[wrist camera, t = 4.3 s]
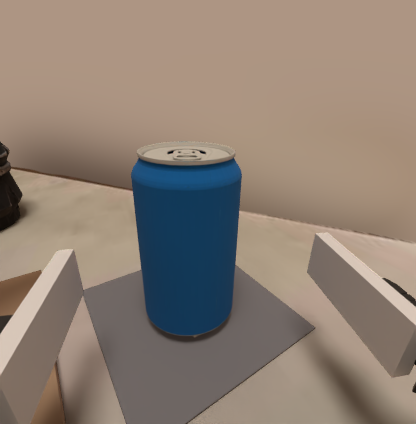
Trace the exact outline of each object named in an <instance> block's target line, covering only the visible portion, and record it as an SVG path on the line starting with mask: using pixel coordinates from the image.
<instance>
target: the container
mask: <svg viewBox="0 0 416 424" xmlns="http://www.w3.org/2000/svg"><path fill="white" fill-rule="evenodd" d="M8 154H9V149H8V148H7V147H5V146H4V145H3V144H2V143H1V142H0V230H2V229H4V228H6V227H8V226H10V225H12V224H14V223H15V222H16V221H17V220H18V219H19V217H20V212H19V206H18V203H19V201H20V199H21V197H22V192H21V191H20V189H19V187H18V186H17V184H16V182H15V181H14V179H13V177H12V175H11V174H10V172H9V171H10V170H11V166H10V163H9V162H8V161H7V157H8Z"/></svg>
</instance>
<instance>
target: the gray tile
mask: <svg viewBox="0 0 416 424" xmlns="http://www.w3.org/2000/svg"><path fill="white" fill-rule="evenodd" d="M83 291H84V293H83V296H84V299H85V302H86V305H87V308H88V311H89V314H90V317H91V320H92V323H93V326H94V329H95V332H96V335H97V338H98V341H99V344H100V347H101V350H102V353H103V356H104V358H105V361H106V364H107V367H108V370H109V373H110V376H111V379H112V382H113V385H114V388H115V391H116V394H117V397H118V400H119V403H120V406H121V409H122V412H123V415H124V418H125V421H126V424H187V423H188V422H189V421H191V420H192V419H193V418H195V417H196V416H197V415H199V414H200V413H202V412H203V411H204V410H206V409H207V408H208V407H210V406H211V405H212V404H214V403H215V402H216V401H218V400H219V399H220V398H222V397H223V396H225V395H226V394H227V393H229V392H230V391H231V390H233V389H234V388H235V387H237V386H238V385H239V384H241V383H242V382H243V381H245V380H246V379H247V378H249V377H250V376H252V375H253V374H254V373H256V372H257V371H258V370H260V369H261V368H262V367H264V366H265V365H266V364H268V363H269V362H270V361H272V360H273V359H275V358H276V357H277V356H279V355H280V354H281V353H283V352H284V351H285V350H287V349H288V348H289V347H291V346H292V345H293V344H295V343H296V342H298V341H299V340H300V339H302V338H303V337H304V336H306V335H307V334H308V333H310V332H311V331H312V330H314V329H315V327H314V326H313V325H311V324H310V323H309V322H308V321H306V320H305V319H304V318H302V317H301V316H300V315H299V314H297V313H296V312H295V311H294V310H292V309H291V308H290V307H288V306H287V305H286V304H285V303H283V302H282V301H281V300H280V299H278V298H277V297H276V296H274V295H273V294H272V293H271V292H269V291H268V290H267V289H266V288H264V287H263V286H262V285H260V284H259V283H258V282H257V281H255V280H254V279H253V278H252V277H250V276H249V275H248V274H246V273H245V272H244V271H243V270H241V269H240V268H239V267H237V266H236V265H235V275H234V289H233V302H232V309H231V312H230V314H229V316H228V317H227V319H226V320H225V321H224V322H223V323H222V324H221V325H220V326H218V327H217V328H215V329H214V330H212V331H209V332H207V333H204V334H200V335H194V336H179V335H174V334H170V333H167V332H165V331H163V330H161V329H160V328H158V327H157V326H156V325H154V324H153V323H152V321H151V320H150V319H149V317H148V315H147V312H146V306H145V296H144V287H143V278H142V270H140V271H137V272H134V273H131V274H128V275H125V276H122V277H120V278H117V279H114V280H111V281H108V282H105V283H102V284H100V285H97V286H94V287H91V288H88V289H85V290H83Z"/></svg>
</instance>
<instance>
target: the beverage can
mask: <svg viewBox="0 0 416 424" xmlns="http://www.w3.org/2000/svg"><path fill="white" fill-rule="evenodd" d="M137 155H138V157H139V159H138V161H137V163H136V164H135V166H134V167H133V170H132V173H131V178H132V187H133V196H134V205H135V214H136V224H137V233H138V242H139V251H140V260H141V269H142V278H143V287H144V296H145V306H146V312H147V315H148V317H149V319H150V320H151V321H152V323H153V324H154V325H156V326H157V327H158V328H160V329H161V330H163V331H165V332H167V333H170V334H174V335H179V336H194V335H200V334H204V333H207V332H209V331H212V330H214V329H215V328H217V327H218V326H220V325H221V324H222V323H223V322H224V321H225V320H226V319H227V317H228V316H229V314H230V312H231V309H232V302H233V289H234V275H235V261H236V247H237V233H238V219H239V205H240V190H241V178H242V176H241V175H242V174H241V170H240V168H239V166H238V164H237V163H236V161H235V159H234V156H235V150H234V149H233V148H231V147H228V146H225V145H220V144H214V143H206V142H166V143H157V144H152V145H147V146H144V147H141V148H140V149H138V150H137Z"/></svg>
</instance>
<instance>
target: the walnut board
mask: <svg viewBox="0 0 416 424" xmlns="http://www.w3.org/2000/svg"><path fill="white" fill-rule="evenodd" d="M41 274H42V273H41V270H39V271H36V272H32V273H29V274H25V275H22V276H18V277H15V278H11V279H8V280H5V281H1V282H0V316H4V315H14V313H15V312H16V310H17V309H18V307H19V306H20V304H21V303H22V301H23V300H24V299H25V297H26V296H27V294H28V293H29V291H30V290H31V288H32V287H33V285H34V284H35V282H36V281H37V279H38V278H39V277H40V275H41ZM30 424H66V422H65V415H64V409H63V402H62V396H61V389H60V383H59V376H58V370H57V363H56V362H55V364H54V367H53V369H52V372H51V374H50V377H49V379H48V382H47V384H46V386H45V389H44V391H43V394H42V396H41V399H40V401H39V404H38V406H37V409H36V411H35V414H34V416H33V419H32V421H31V423H30Z"/></svg>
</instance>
